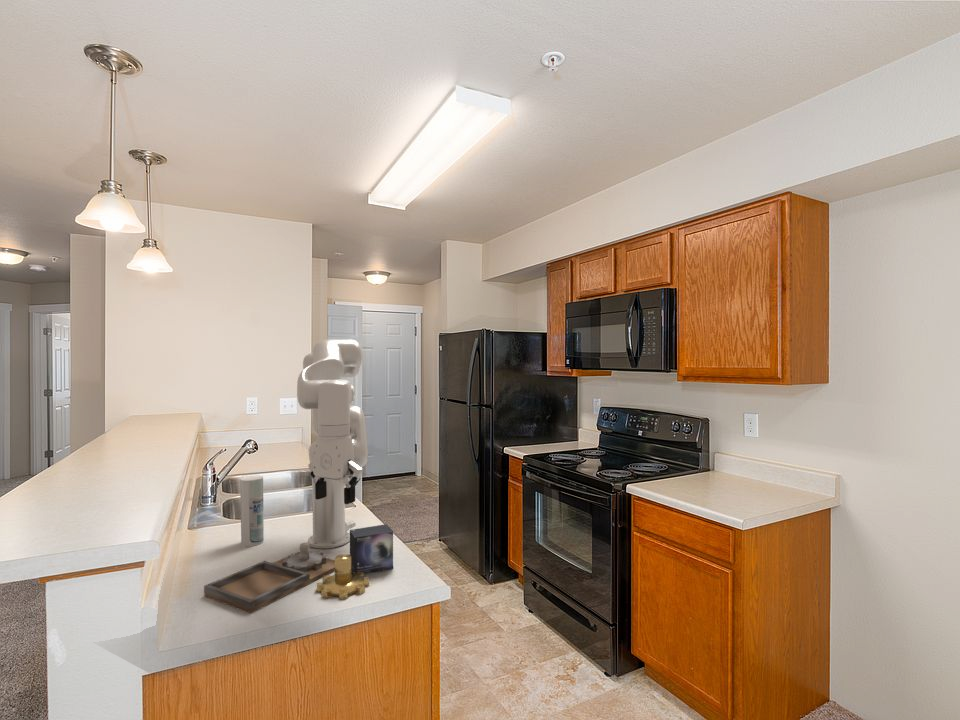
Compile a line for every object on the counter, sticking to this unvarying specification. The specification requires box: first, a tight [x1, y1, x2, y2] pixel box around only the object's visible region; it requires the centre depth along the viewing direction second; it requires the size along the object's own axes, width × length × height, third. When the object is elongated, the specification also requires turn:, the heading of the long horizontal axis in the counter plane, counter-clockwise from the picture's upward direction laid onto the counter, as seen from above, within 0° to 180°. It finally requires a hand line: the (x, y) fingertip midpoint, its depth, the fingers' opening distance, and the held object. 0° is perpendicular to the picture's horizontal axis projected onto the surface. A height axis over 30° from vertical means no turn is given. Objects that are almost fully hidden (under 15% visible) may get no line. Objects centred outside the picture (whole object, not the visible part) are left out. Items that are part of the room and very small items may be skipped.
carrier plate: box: [203, 542, 335, 614], centre depth 133 cm, size 29×17×6 cm, turn 150°
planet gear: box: [316, 553, 370, 600], centre depth 128 cm, size 12×12×8 cm
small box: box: [349, 523, 394, 575], centre depth 140 cm, size 11×6×10 cm, turn 117°
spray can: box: [239, 475, 265, 547], centre depth 159 cm, size 6×6×20 cm
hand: (335, 500), depth 128 cm, fingers open, 9 cm apart
